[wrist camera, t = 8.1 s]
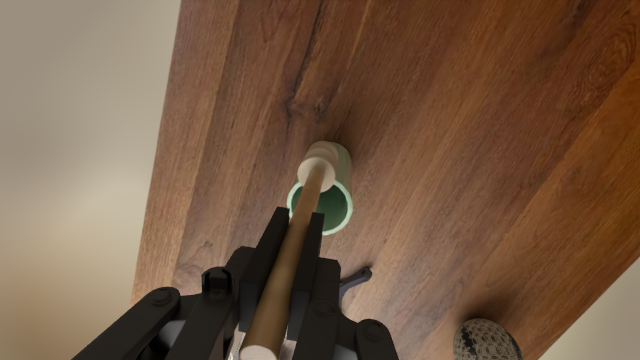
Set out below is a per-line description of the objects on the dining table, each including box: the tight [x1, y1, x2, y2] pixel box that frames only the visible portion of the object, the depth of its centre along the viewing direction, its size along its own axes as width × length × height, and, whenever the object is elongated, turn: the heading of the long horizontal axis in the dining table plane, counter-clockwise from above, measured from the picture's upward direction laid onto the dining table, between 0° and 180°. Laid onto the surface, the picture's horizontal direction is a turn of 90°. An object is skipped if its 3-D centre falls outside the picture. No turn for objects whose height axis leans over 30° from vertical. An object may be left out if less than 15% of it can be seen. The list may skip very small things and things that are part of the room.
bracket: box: [339, 267, 372, 308], centre depth 63 cm, size 14×15×3 cm
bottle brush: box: [239, 141, 338, 360], centre depth 21 cm, size 3×3×24 cm
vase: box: [287, 142, 353, 235], centre depth 47 cm, size 8×8×17 cm
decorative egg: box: [453, 318, 524, 360], centre depth 58 cm, size 12×12×15 cm
